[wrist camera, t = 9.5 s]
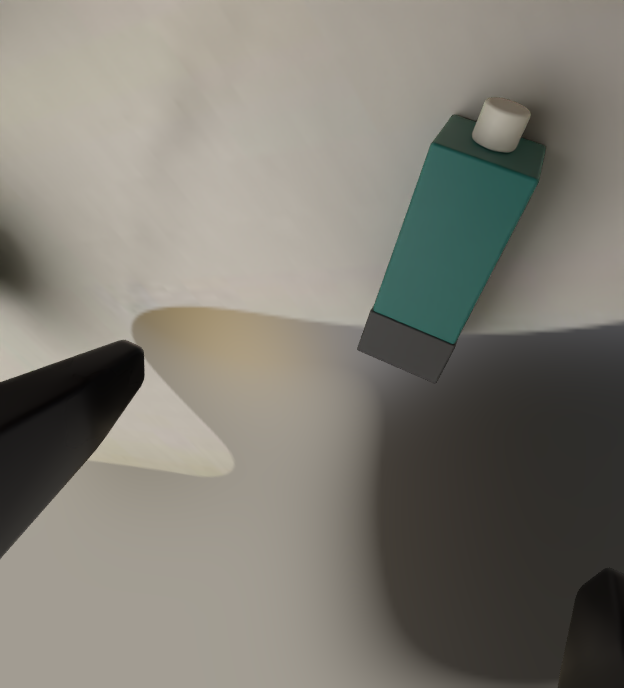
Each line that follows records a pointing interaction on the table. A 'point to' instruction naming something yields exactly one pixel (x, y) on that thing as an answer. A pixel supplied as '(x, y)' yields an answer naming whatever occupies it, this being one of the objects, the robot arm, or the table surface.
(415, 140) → the table surface
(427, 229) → the teal square bottle
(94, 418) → the robot arm
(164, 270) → the table surface
